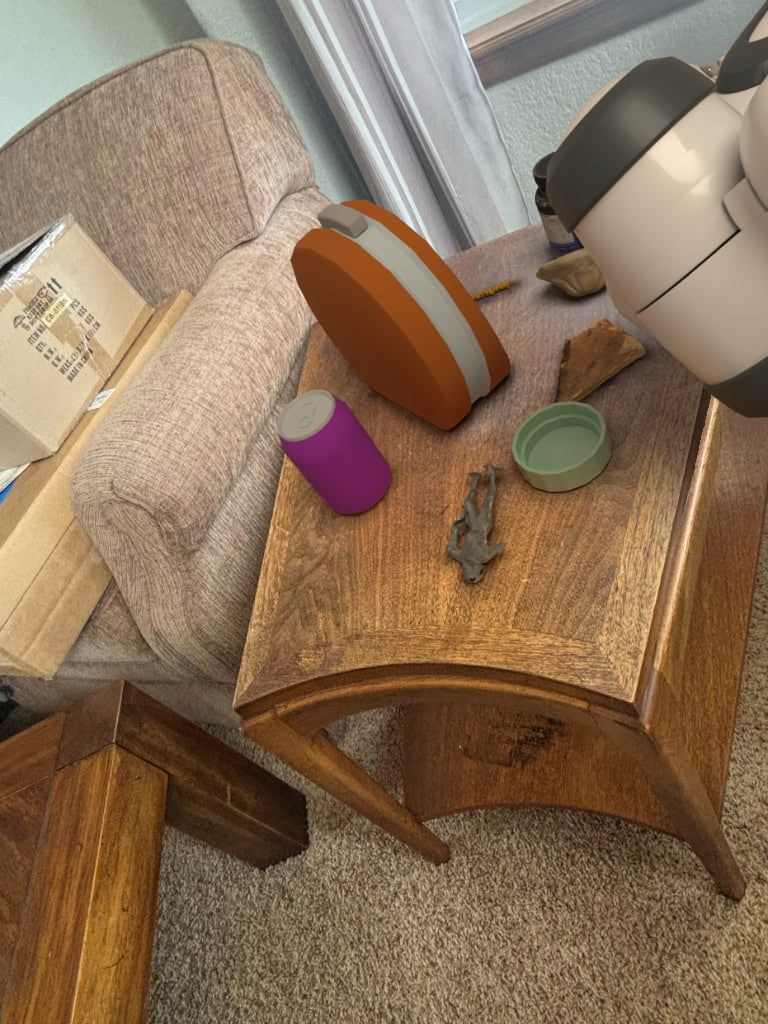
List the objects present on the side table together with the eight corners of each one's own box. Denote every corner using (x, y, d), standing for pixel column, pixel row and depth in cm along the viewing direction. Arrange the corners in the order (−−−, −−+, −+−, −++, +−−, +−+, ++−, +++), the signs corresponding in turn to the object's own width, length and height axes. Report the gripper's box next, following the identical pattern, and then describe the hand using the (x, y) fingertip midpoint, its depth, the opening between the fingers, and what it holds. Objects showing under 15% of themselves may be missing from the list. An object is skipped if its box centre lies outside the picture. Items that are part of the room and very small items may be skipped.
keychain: (453, 303, 89) (456, 311, 89) (451, 302, 88) (454, 311, 88) (515, 277, 86) (517, 285, 86) (514, 276, 85) (517, 285, 86)
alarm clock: (537, 380, 75) (456, 185, 59) (471, 446, 74) (369, 264, 58) (411, 325, 91) (320, 159, 75) (354, 379, 89) (249, 221, 74)
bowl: (598, 410, 69) (590, 388, 67) (624, 473, 64) (617, 451, 62) (514, 443, 72) (504, 423, 69) (532, 507, 66) (522, 487, 64)
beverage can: (394, 507, 74) (337, 430, 65) (328, 526, 76) (264, 454, 68) (395, 452, 78) (342, 373, 70) (333, 472, 81) (274, 398, 73)
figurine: (505, 449, 66) (479, 554, 59) (529, 475, 68) (506, 581, 61) (453, 469, 71) (423, 569, 64) (477, 493, 72) (450, 594, 65)
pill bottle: (597, 224, 85) (573, 136, 78) (616, 249, 81) (592, 159, 74) (547, 249, 87) (519, 165, 79) (563, 275, 83) (534, 189, 75)
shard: (556, 422, 71) (551, 410, 69) (515, 386, 76) (510, 374, 75) (649, 356, 70) (645, 343, 69) (601, 325, 76) (597, 312, 74)
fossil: (639, 224, 73) (543, 256, 74) (652, 267, 74) (556, 298, 74) (612, 249, 82) (527, 278, 83) (624, 287, 82) (538, 315, 83)
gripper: (702, 32, 78) (576, 98, 82) (790, 104, 64) (634, 179, 68) (709, 90, 82) (590, 150, 86) (793, 168, 69) (647, 235, 72)
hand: (610, 163), depth 77 cm, fingers open, 7 cm apart
